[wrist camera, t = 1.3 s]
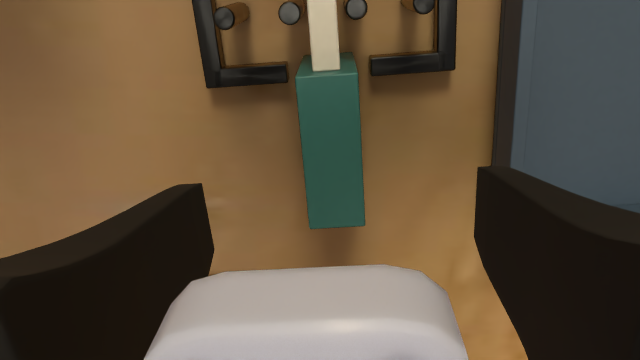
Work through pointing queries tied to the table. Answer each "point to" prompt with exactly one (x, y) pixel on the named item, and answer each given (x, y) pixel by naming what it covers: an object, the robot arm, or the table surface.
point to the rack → (290, 14)
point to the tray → (571, 96)
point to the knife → (330, 125)
